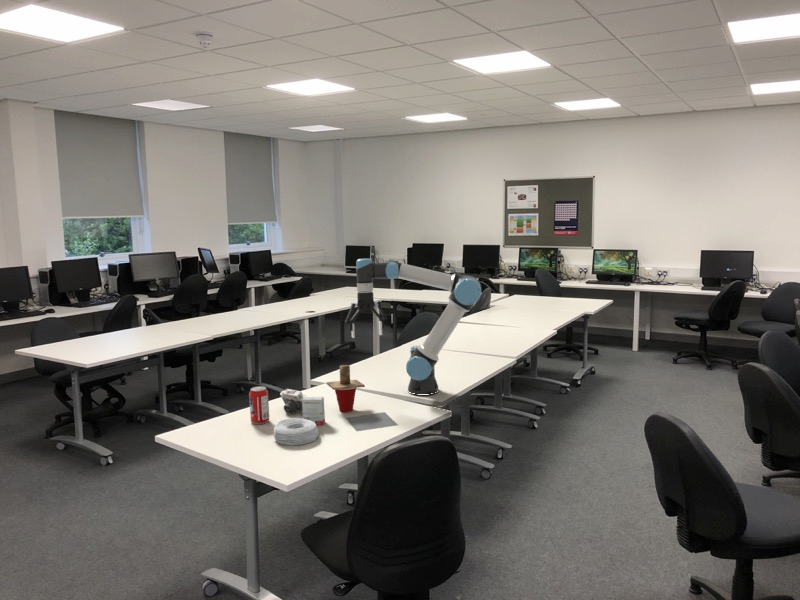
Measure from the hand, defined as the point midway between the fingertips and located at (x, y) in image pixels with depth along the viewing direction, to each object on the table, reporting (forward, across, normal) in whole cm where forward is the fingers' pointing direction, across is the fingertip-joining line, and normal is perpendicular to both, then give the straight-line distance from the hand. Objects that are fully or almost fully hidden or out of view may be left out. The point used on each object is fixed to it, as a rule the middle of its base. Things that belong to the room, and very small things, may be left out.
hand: (367, 336), depth 284 cm
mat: (+31, -10, -32) cm, 46 cm away
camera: (+31, -37, -4) cm, 49 cm away
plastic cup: (+31, -15, -13) cm, 37 cm away
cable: (+31, -42, -37) cm, 64 cm away
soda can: (+30, -53, -12) cm, 62 cm away
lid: (+18, -15, -13) cm, 27 cm away
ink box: (+31, -32, -25) cm, 51 cm away
